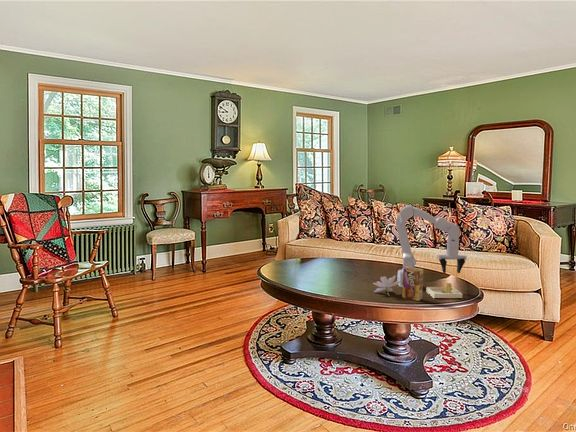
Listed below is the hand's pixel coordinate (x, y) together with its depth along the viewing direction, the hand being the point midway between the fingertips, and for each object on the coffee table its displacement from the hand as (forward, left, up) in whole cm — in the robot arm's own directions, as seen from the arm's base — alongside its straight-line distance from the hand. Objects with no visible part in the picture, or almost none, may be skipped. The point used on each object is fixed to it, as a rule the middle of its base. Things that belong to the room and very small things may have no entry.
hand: (451, 272), depth 224 cm
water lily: (-36, -7, -10) cm, 38 cm away
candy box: (-25, -15, -10) cm, 31 cm away
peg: (-5, -9, -9) cm, 14 cm away
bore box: (-7, -9, -9) cm, 15 cm away
